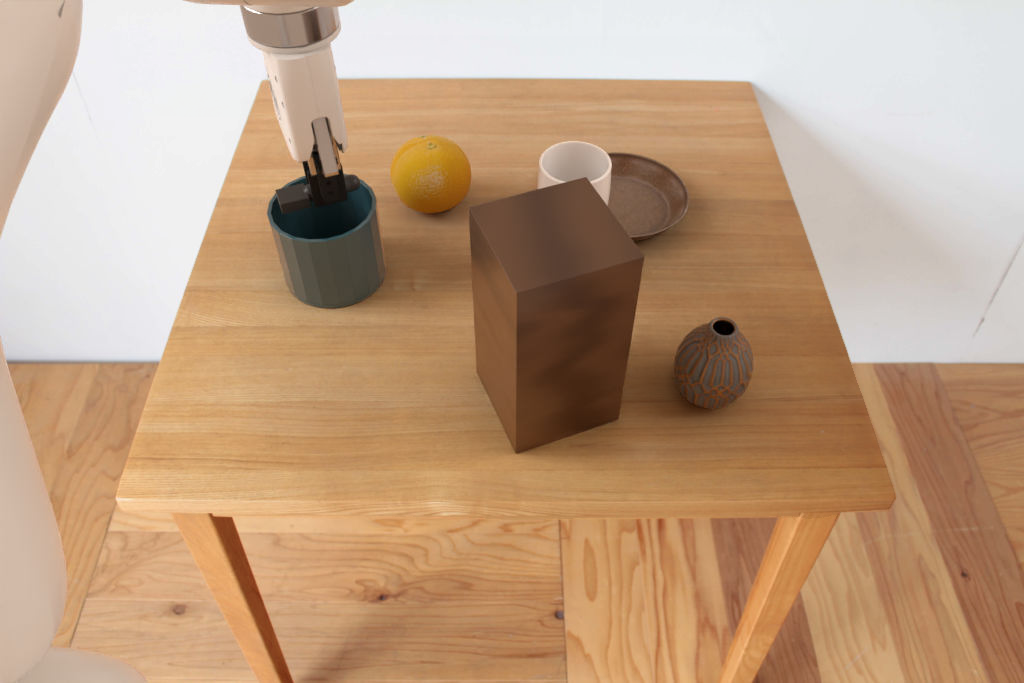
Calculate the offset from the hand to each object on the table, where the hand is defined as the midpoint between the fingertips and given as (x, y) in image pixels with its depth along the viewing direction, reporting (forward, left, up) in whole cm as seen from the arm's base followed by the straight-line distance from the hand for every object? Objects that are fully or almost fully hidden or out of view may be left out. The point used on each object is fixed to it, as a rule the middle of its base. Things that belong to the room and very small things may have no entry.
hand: (328, 194), depth 82 cm
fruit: (+12, +7, -10) cm, 17 cm away
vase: (+27, -28, -10) cm, 40 cm away
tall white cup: (+21, -10, -10) cm, 26 cm away
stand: (+13, -23, -10) cm, 28 cm away
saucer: (+31, -2, -10) cm, 33 cm away
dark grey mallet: (-1, 0, 0) cm, 1 cm away
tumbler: (-1, 0, -10) cm, 10 cm away
